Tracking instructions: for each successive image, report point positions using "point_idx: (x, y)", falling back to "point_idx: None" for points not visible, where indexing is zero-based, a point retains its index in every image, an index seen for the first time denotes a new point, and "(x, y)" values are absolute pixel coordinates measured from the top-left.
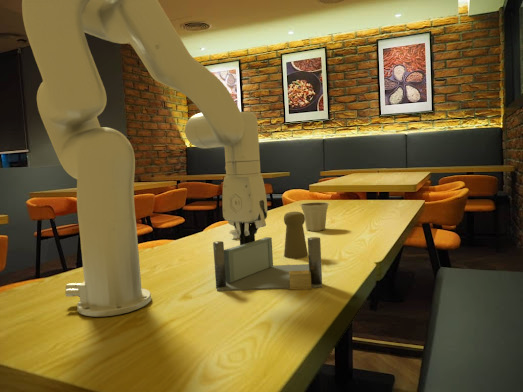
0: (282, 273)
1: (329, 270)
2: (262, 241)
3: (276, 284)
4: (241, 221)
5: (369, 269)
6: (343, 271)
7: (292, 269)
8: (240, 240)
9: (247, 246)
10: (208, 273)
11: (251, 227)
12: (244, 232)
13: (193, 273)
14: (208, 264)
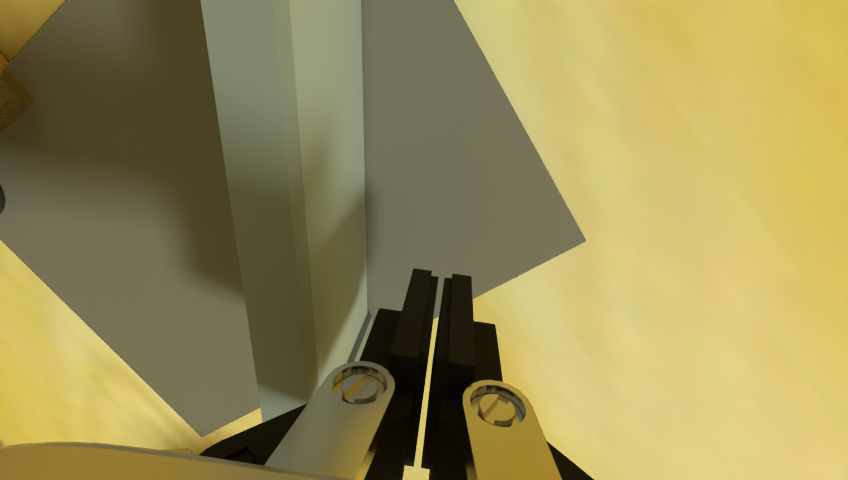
0: (215, 255)
1: (107, 386)
2: (263, 378)
3: (87, 67)
4: (279, 470)
5: (6, 442)
6: (54, 392)
7: (226, 331)
8: (464, 329)
9: (234, 167)
10: (657, 88)
11: (258, 457)
12: (393, 394)
13: (780, 32)
14: (788, 262)
